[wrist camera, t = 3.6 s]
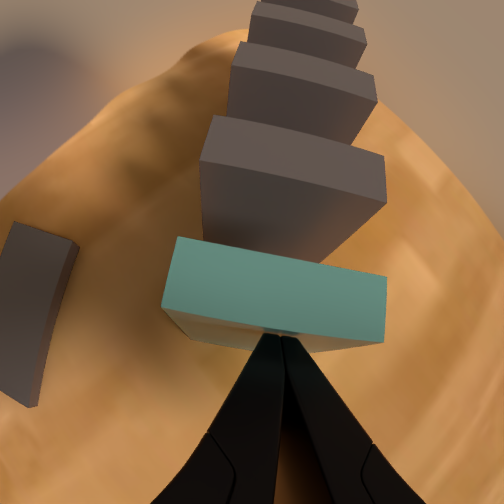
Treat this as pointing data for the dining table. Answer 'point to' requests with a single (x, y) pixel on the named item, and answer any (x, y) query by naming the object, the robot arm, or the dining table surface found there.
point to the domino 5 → (285, 189)
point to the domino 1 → (30, 306)
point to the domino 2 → (323, 7)
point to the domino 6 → (271, 299)
